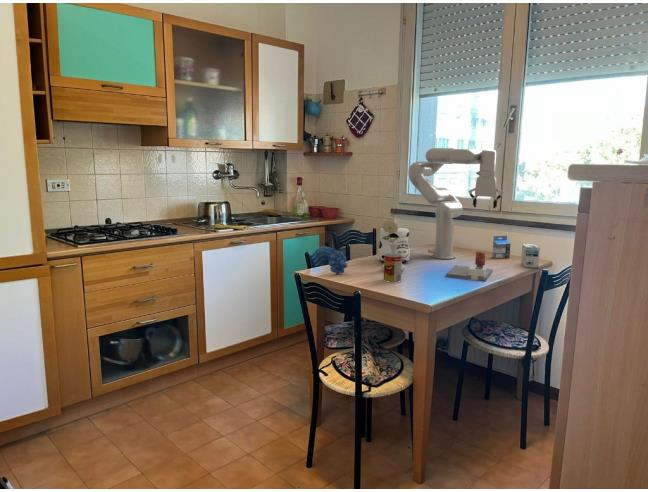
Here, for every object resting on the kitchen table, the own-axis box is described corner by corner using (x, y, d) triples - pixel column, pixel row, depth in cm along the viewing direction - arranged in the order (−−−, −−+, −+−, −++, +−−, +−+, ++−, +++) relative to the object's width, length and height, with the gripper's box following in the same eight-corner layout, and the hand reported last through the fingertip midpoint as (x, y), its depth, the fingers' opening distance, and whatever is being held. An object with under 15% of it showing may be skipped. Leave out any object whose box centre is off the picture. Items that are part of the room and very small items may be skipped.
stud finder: (468, 275, 219) (468, 268, 218) (470, 272, 223) (470, 266, 223) (483, 276, 216) (484, 269, 215) (485, 274, 220) (486, 267, 220)
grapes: (335, 278, 219) (335, 253, 217) (325, 275, 224) (325, 251, 222) (352, 274, 227) (353, 249, 224) (342, 272, 231) (343, 248, 229)
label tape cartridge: (495, 258, 263) (497, 237, 261) (491, 257, 267) (493, 236, 265) (509, 258, 265) (511, 236, 263) (505, 256, 269) (507, 235, 267)
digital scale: (445, 276, 222) (446, 273, 222) (455, 268, 240) (455, 265, 240) (485, 281, 214) (485, 277, 214) (492, 272, 232) (492, 269, 231)
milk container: (403, 266, 243) (404, 232, 240) (372, 263, 252) (373, 229, 249) (414, 260, 258) (415, 228, 255) (384, 257, 267) (385, 226, 263)
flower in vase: (409, 270, 234) (410, 220, 230) (396, 274, 226) (397, 223, 222) (387, 266, 243) (388, 218, 239) (374, 270, 235) (375, 220, 231)
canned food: (389, 277, 220) (390, 252, 218) (404, 280, 216) (405, 254, 213) (380, 280, 214) (380, 255, 212) (395, 283, 210) (396, 257, 207)
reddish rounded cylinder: (474, 270, 228) (475, 252, 226) (475, 269, 231) (476, 251, 230) (483, 271, 226) (484, 253, 224) (485, 270, 229) (486, 251, 228)
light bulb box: (538, 268, 241) (540, 247, 239) (524, 267, 242) (526, 246, 240) (533, 263, 251) (535, 243, 249) (520, 263, 253) (522, 243, 251)
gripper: (468, 174, 242) (466, 207, 245) (503, 174, 234) (501, 209, 237) (471, 173, 249) (469, 206, 252) (505, 174, 241) (503, 207, 244)
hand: (484, 207), depth 245 cm, fingers open, 9 cm apart
